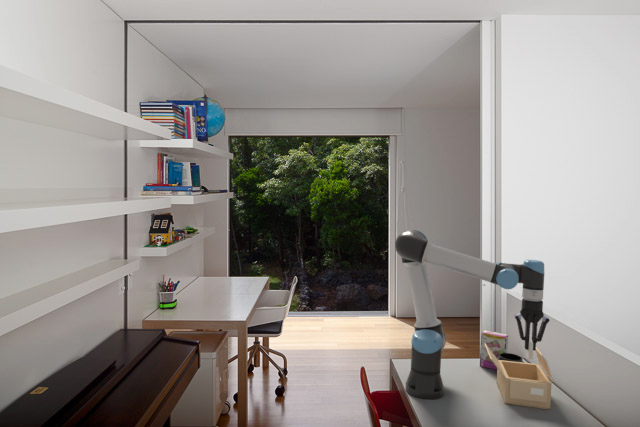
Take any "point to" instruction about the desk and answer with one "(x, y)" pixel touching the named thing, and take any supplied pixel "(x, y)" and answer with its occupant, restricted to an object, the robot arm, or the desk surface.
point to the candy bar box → (492, 347)
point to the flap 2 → (543, 363)
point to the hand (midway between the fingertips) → (529, 357)
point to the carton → (524, 384)
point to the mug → (510, 357)
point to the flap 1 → (494, 359)
